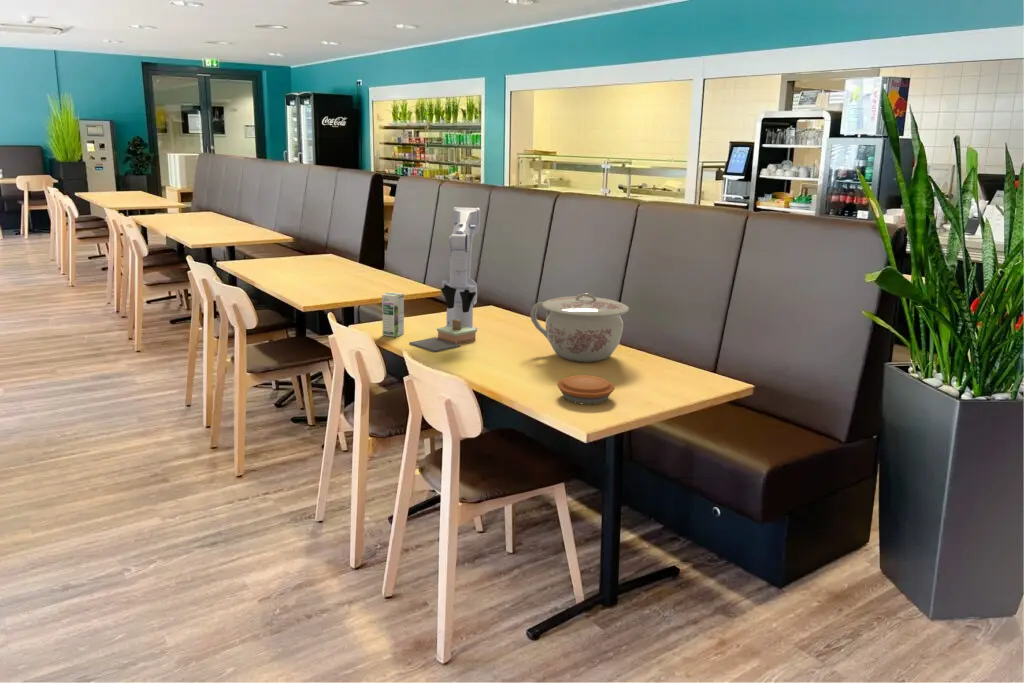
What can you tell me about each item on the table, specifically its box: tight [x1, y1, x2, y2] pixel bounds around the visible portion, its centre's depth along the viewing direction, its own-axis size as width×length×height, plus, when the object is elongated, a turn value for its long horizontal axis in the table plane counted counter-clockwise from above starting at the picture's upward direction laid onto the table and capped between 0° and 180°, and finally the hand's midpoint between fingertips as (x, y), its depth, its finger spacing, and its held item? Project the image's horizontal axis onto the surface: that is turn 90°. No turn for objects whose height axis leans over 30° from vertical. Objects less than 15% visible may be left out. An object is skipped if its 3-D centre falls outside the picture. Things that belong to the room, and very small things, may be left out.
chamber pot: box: [530, 292, 630, 363], centre depth 246 cm, size 28×28×21 cm
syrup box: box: [381, 291, 405, 338], centre depth 267 cm, size 6×6×14 cm
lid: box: [436, 319, 478, 336], centre depth 263 cm, size 10×10×4 cm
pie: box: [556, 374, 616, 405], centre depth 209 cm, size 15×16×5 cm
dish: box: [437, 331, 477, 345], centre depth 264 cm, size 9×9×3 cm
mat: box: [408, 336, 461, 353], centre depth 257 cm, size 13×11×1 cm
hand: (458, 310), depth 262 cm, fingers open, 7 cm apart
